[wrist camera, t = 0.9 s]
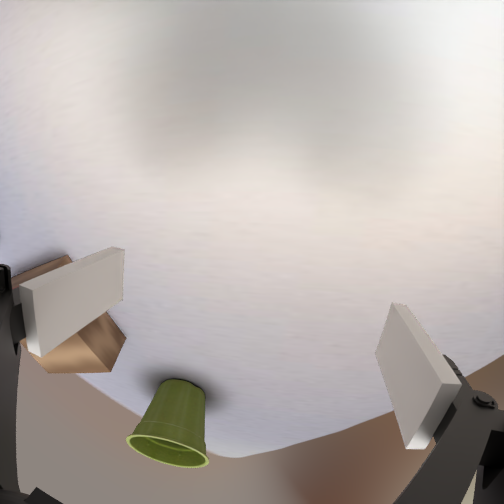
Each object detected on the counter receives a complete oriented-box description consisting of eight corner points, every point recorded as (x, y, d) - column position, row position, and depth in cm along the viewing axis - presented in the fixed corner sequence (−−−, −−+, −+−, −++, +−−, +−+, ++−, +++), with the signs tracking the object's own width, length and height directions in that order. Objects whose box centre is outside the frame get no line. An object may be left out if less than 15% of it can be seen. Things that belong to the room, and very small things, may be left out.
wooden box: (9, 275, 37) (-14, 301, 32) (65, 252, 34) (39, 283, 28) (62, 345, 44) (46, 373, 39) (126, 338, 41) (110, 372, 36)
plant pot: (131, 373, 45) (109, 434, 36) (193, 363, 42) (175, 434, 32) (174, 412, 51) (160, 467, 41) (233, 405, 47) (224, 468, 38)
